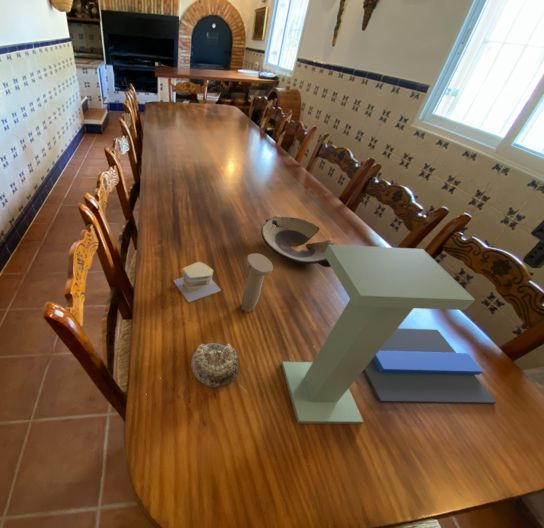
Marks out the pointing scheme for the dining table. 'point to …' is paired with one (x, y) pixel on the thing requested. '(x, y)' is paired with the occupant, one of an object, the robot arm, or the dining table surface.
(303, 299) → the dining table surface
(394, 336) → the mat
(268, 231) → the broken bowl
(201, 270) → the stacked layers on plate
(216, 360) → the grey speckled round piece
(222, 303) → the dining table surface
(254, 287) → the handle
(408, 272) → the stand
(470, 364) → the blue flat bar
